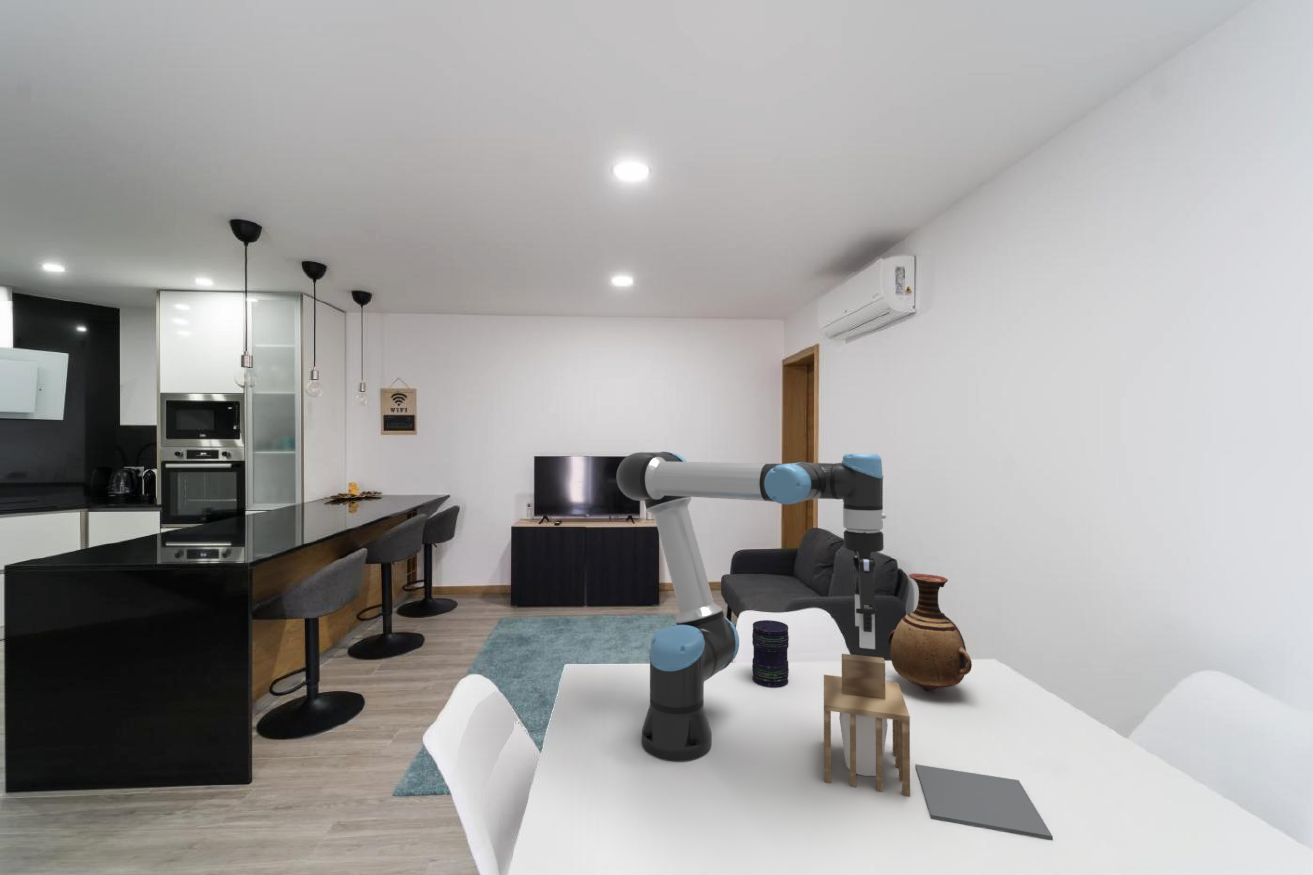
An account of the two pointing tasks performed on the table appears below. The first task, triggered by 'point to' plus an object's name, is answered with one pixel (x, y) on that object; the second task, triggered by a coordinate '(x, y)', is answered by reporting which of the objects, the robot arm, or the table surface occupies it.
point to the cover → (867, 713)
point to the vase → (929, 641)
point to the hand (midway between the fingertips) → (864, 636)
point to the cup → (862, 742)
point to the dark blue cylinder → (770, 653)
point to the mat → (980, 801)
